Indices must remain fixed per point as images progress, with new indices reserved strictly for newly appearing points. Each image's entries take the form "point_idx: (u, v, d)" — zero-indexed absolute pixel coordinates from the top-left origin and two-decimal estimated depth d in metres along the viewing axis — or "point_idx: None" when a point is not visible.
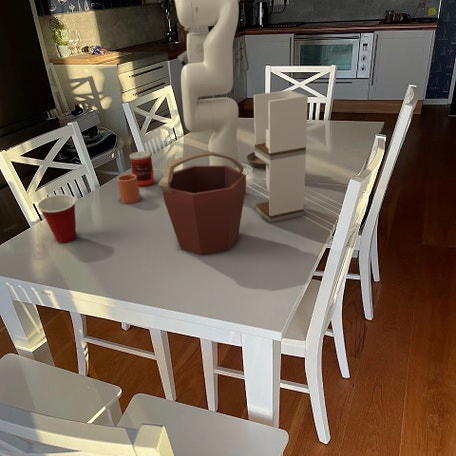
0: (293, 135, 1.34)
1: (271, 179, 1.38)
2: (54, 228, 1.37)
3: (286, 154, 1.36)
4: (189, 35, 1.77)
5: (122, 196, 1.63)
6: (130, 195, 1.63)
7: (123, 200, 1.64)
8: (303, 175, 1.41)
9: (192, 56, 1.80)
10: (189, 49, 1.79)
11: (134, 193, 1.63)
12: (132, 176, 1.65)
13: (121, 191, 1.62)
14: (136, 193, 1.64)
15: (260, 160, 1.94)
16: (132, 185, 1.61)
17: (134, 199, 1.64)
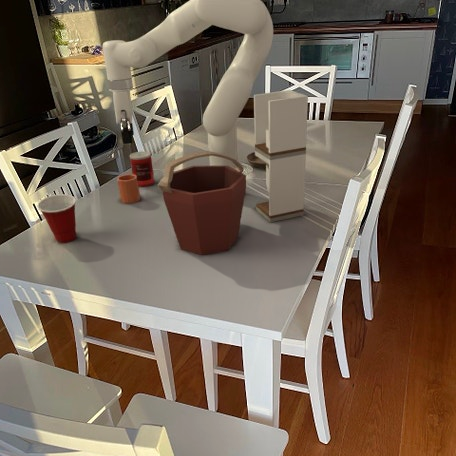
0: (293, 135, 1.34)
1: (271, 179, 1.38)
2: (54, 228, 1.37)
3: (286, 154, 1.36)
4: None
5: (122, 196, 1.63)
6: (130, 195, 1.63)
7: (123, 200, 1.64)
8: (303, 175, 1.41)
9: None
10: None
11: (134, 193, 1.63)
12: (132, 176, 1.65)
13: (121, 191, 1.62)
14: (136, 193, 1.64)
15: (260, 160, 1.94)
16: (132, 185, 1.61)
17: (134, 199, 1.64)
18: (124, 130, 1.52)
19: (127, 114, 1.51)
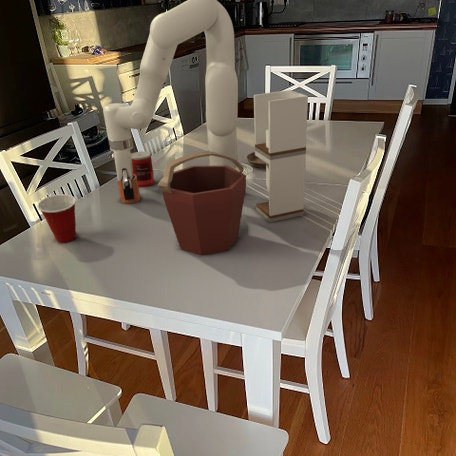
0: (293, 135, 1.34)
1: (271, 179, 1.38)
2: (54, 228, 1.37)
3: (286, 154, 1.36)
4: None
5: (122, 196, 1.63)
6: None
7: (123, 200, 1.64)
8: (303, 175, 1.41)
9: None
10: None
11: (134, 193, 1.63)
12: None
13: (121, 191, 1.62)
14: (136, 193, 1.64)
15: (260, 160, 1.94)
16: (132, 185, 1.61)
17: (134, 199, 1.64)
18: (126, 188, 1.59)
19: (128, 172, 1.57)
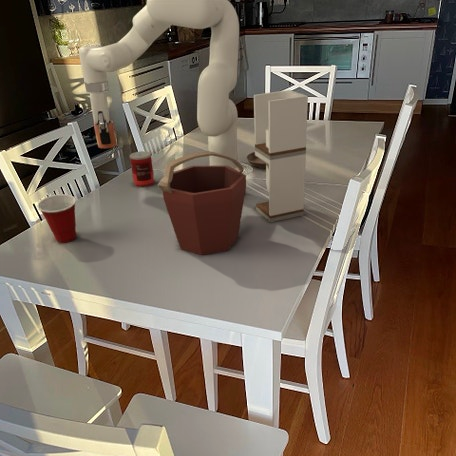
0: (293, 135, 1.34)
1: (271, 179, 1.38)
2: (54, 228, 1.37)
3: (286, 154, 1.36)
4: None
5: (99, 141, 1.66)
6: None
7: (100, 145, 1.67)
8: (303, 175, 1.41)
9: None
10: None
11: (110, 138, 1.66)
12: (109, 122, 1.67)
13: (98, 136, 1.65)
14: (113, 138, 1.66)
15: (260, 160, 1.94)
16: (109, 129, 1.64)
17: (111, 144, 1.67)
18: (102, 131, 1.62)
19: (104, 115, 1.59)
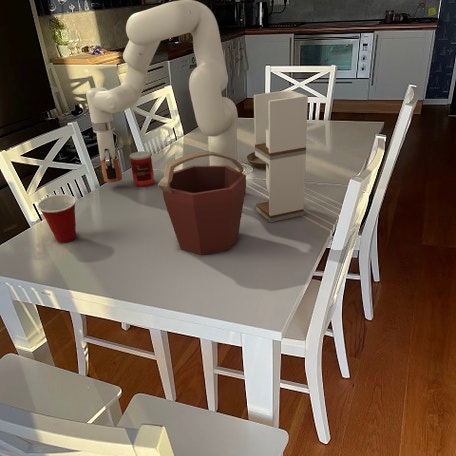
0: (293, 135, 1.34)
1: (271, 179, 1.38)
2: (54, 228, 1.37)
3: (286, 154, 1.36)
4: None
5: (105, 176, 1.74)
6: None
7: (106, 179, 1.75)
8: (303, 175, 1.41)
9: None
10: None
11: (116, 172, 1.73)
12: None
13: (104, 171, 1.73)
14: (118, 173, 1.74)
15: (260, 160, 1.94)
16: (114, 165, 1.72)
17: (116, 179, 1.74)
18: (108, 167, 1.70)
19: (110, 152, 1.67)
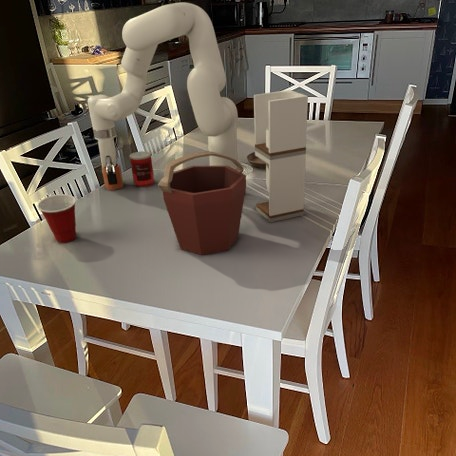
0: (293, 135, 1.34)
1: (271, 179, 1.38)
2: (54, 228, 1.37)
3: (286, 154, 1.36)
4: None
5: (106, 183, 1.75)
6: None
7: (107, 187, 1.76)
8: (303, 175, 1.41)
9: None
10: None
11: (117, 180, 1.75)
12: (116, 164, 1.77)
13: (105, 178, 1.74)
14: (119, 180, 1.76)
15: (260, 160, 1.94)
16: (116, 172, 1.73)
17: (118, 186, 1.76)
18: (109, 173, 1.69)
19: (111, 159, 1.68)
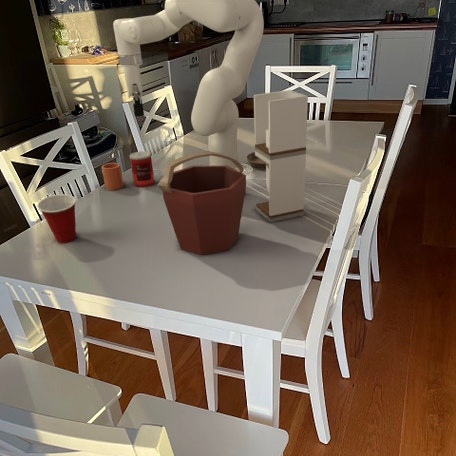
0: (293, 135, 1.34)
1: (271, 179, 1.38)
2: (54, 228, 1.37)
3: (286, 154, 1.36)
4: None
5: (106, 183, 1.75)
6: (114, 182, 1.75)
7: (107, 187, 1.76)
8: (303, 175, 1.41)
9: None
10: None
11: (117, 180, 1.75)
12: (116, 164, 1.77)
13: (105, 178, 1.74)
14: (119, 180, 1.76)
15: (260, 160, 1.94)
16: (116, 172, 1.73)
17: (118, 186, 1.76)
18: (136, 103, 1.62)
19: (138, 87, 1.61)
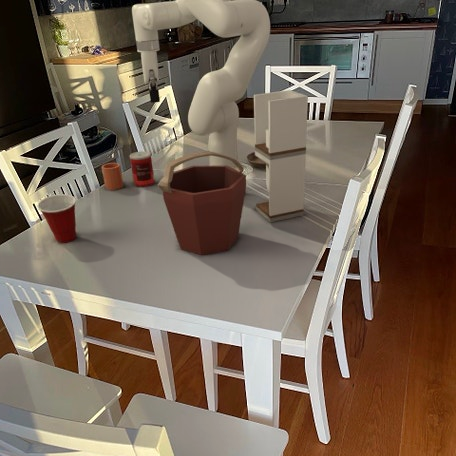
0: (293, 135, 1.34)
1: (271, 179, 1.38)
2: (54, 228, 1.37)
3: (286, 154, 1.36)
4: None
5: (106, 183, 1.75)
6: (114, 182, 1.75)
7: (107, 187, 1.76)
8: (303, 175, 1.41)
9: None
10: None
11: (117, 180, 1.75)
12: (116, 164, 1.77)
13: (105, 178, 1.74)
14: (119, 180, 1.76)
15: (260, 160, 1.94)
16: (116, 172, 1.73)
17: (118, 186, 1.76)
18: (152, 89, 1.63)
19: (155, 73, 1.62)
